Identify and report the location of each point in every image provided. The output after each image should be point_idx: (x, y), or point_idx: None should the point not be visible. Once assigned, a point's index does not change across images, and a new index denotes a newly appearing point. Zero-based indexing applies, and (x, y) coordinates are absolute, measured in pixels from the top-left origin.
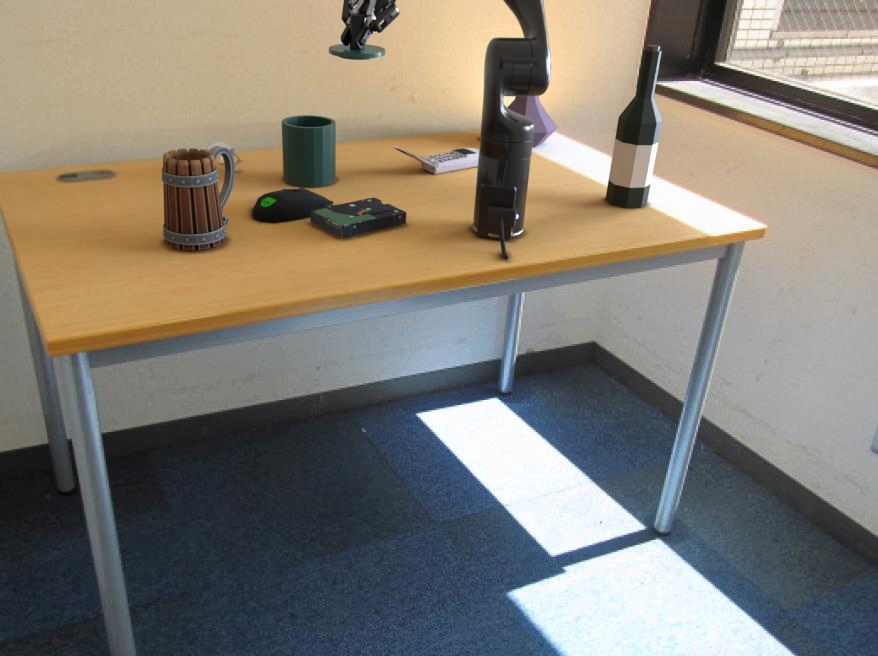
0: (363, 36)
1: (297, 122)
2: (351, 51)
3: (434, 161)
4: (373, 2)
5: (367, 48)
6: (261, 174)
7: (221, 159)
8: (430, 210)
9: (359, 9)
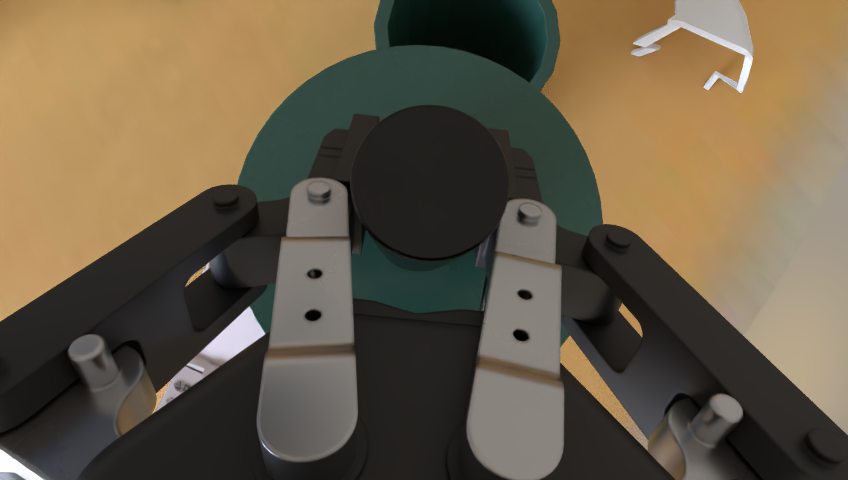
0: (324, 149)
1: (535, 73)
2: (385, 108)
3: (198, 372)
4: (296, 352)
5: (369, 274)
6: (573, 69)
7: (717, 74)
8: (69, 76)
9: (486, 298)
